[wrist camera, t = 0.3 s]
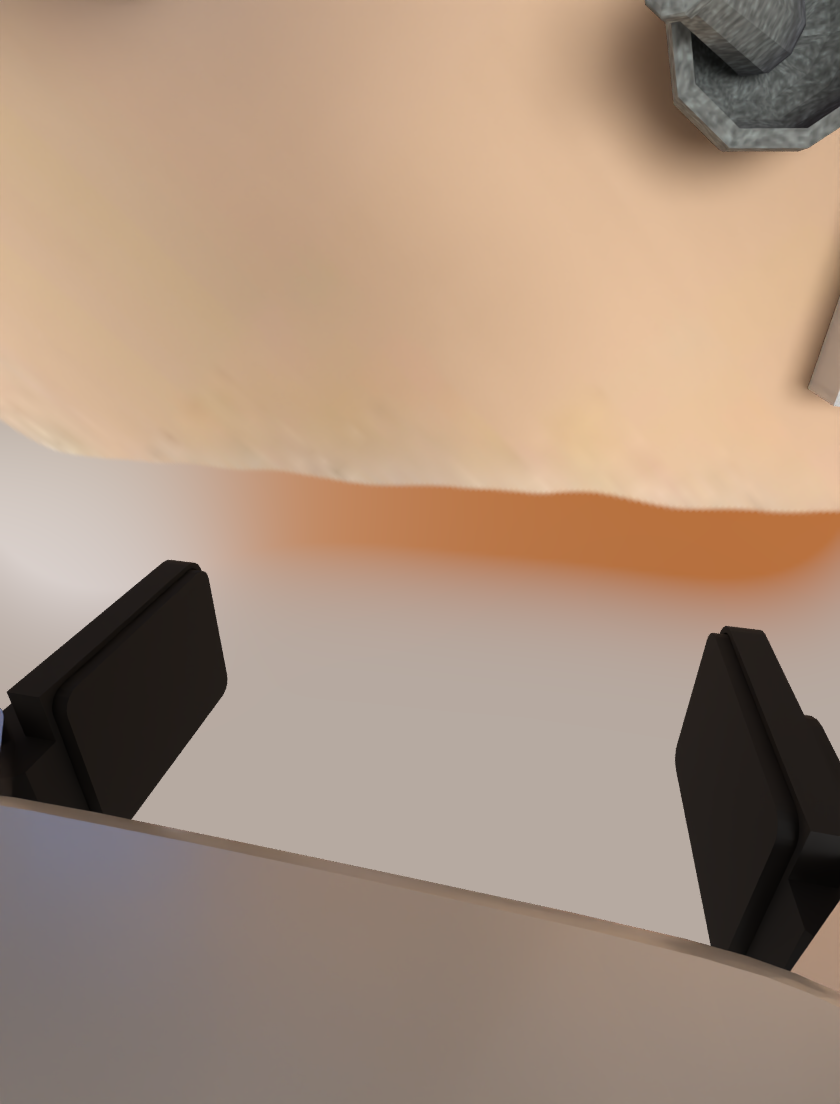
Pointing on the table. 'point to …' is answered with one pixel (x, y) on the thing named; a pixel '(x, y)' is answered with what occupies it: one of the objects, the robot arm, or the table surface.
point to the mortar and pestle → (755, 69)
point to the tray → (829, 364)
